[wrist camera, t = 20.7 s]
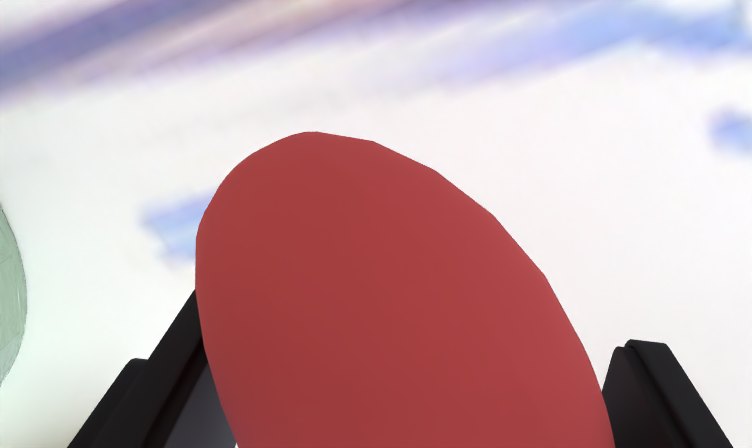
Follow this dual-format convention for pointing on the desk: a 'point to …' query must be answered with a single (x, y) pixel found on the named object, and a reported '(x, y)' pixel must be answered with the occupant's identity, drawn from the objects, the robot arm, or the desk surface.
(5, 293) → the tin
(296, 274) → the red kidney bean
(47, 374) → the desk surface
